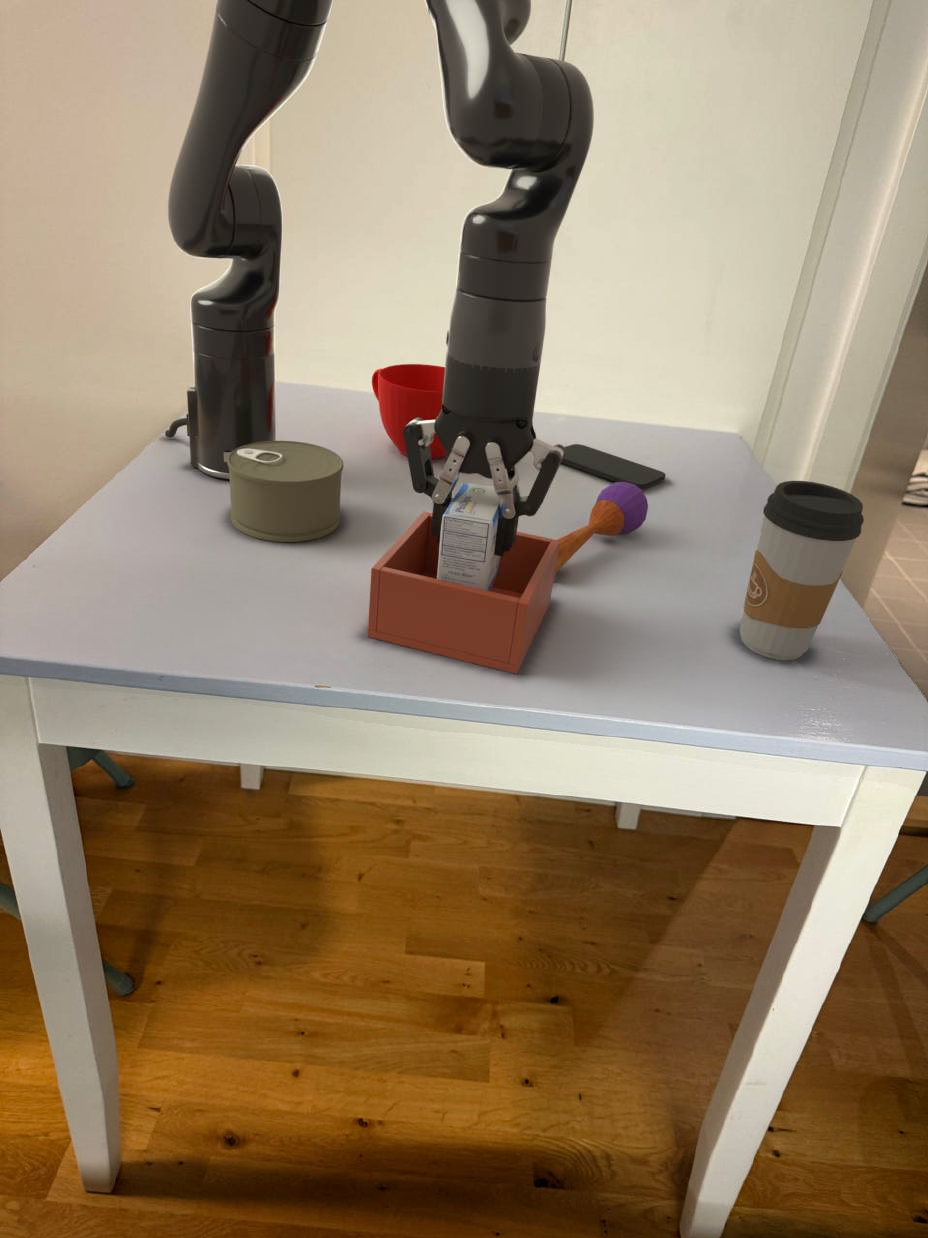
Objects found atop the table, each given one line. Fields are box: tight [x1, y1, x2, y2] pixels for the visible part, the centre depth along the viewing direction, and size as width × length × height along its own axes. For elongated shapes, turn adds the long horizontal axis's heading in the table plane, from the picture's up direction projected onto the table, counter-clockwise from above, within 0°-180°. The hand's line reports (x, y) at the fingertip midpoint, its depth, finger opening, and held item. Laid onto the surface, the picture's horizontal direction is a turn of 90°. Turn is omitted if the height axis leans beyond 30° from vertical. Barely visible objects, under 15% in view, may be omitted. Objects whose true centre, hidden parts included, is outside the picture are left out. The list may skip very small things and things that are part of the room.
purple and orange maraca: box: [555, 482, 649, 574], centre depth 98 cm, size 6×6×20 cm
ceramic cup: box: [371, 363, 447, 460], centre depth 120 cm, size 13×17×10 cm
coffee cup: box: [739, 480, 865, 661], centre depth 81 cm, size 8×8×15 cm
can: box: [227, 440, 344, 543], centre depth 96 cm, size 12×12×7 cm
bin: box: [367, 511, 560, 675], centre depth 81 cm, size 14×14×7 cm
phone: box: [561, 443, 666, 490], centre depth 122 cm, size 7×1×15 cm
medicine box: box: [437, 482, 502, 591], centre depth 79 cm, size 8×4×9 cm, turn 168°
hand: (471, 545), depth 79 cm, fingers closed on medicine box, 4 cm apart
